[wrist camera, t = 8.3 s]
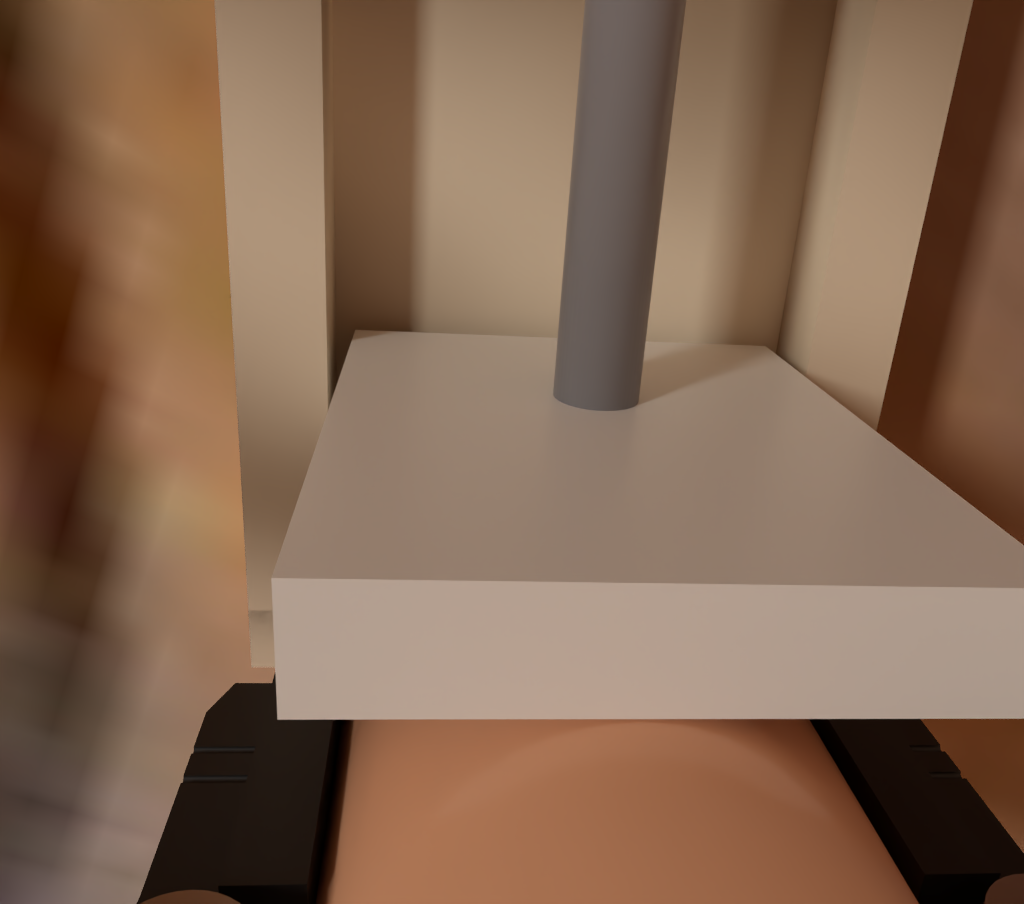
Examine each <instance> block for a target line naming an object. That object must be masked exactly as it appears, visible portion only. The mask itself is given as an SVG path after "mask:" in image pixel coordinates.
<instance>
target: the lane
mask: <svg viewBox="0 0 1024 904" xmlns="http://www.w3.org/2000/svg"><path fill="white" fill-rule="evenodd" d="M972 4H973V0H686V7H685V15H684V23H683V32H682V40H681V49H680V57H679V66H678V74H677V82H676V91H675V99H674V108H673V116H672V125H671V133H670V141H669V150H668V158H667V167H666V175H665V183H664V192H663V200H662V209H661V217H660V226H659V234H658V242H657V251H656V259H655V268H654V276H653V285H652V293H651V301H650V310H649V318H648V327H647V335H646V341H651V342H676V343H701V344H726V345H752V346H766V347H767V348H769V349H770V350H771V351H773V352H774V353H775V354H776V355H778V356H779V357H780V358H782V359H783V360H784V361H786V362H787V363H788V364H789V365H791V366H792V367H793V368H795V369H796V370H797V371H798V372H800V373H801V374H802V375H804V376H805V377H806V378H808V379H809V380H810V381H811V382H813V383H814V384H815V385H817V386H818V387H819V388H820V389H822V390H823V391H824V392H826V393H827V394H828V395H830V396H831V397H832V398H833V399H835V400H836V401H837V402H839V403H840V404H841V405H843V406H844V407H845V408H846V409H848V410H849V411H850V412H852V413H853V414H854V415H855V416H857V417H858V418H859V419H861V420H862V421H863V422H865V423H866V424H867V425H868V426H870V427H871V428H872V429H874V430H875V431H877V426H878V422H879V417H880V413H881V409H882V404H883V400H884V395H885V391H886V386H887V382H888V377H889V373H890V368H891V364H892V360H893V355H894V351H895V346H896V342H897V337H898V333H899V328H900V324H901V320H902V315H903V311H904V306H905V302H906V297H907V293H908V288H909V284H910V279H911V275H912V271H913V266H914V262H915V257H916V253H917V248H918V244H919V239H920V235H921V231H922V226H923V222H924V217H925V213H926V208H927V204H928V199H929V195H930V190H931V186H932V182H933V177H934V173H935V168H936V164H937V159H938V155H939V150H940V146H941V142H942V137H943V133H944V128H945V124H946V119H947V115H948V110H949V106H950V101H951V97H952V93H953V88H954V84H955V79H956V75H957V70H958V66H959V61H960V57H961V53H962V48H963V44H964V39H965V35H966V30H967V26H968V21H969V17H970V12H971V8H972ZM584 7H585V0H215V16H216V34H217V52H218V70H219V88H220V106H221V124H222V143H223V161H224V179H225V197H226V215H227V233H228V251H229V269H230V287H231V305H232V323H233V341H234V359H235V377H236V395H237V413H238V431H239V449H240V467H241V485H242V503H243V521H244V539H245V557H246V576H247V594H248V612H249V630H250V648H251V666H252V667H275V651H274V629H273V606H272V583H271V577H272V575H273V572H274V569H275V566H276V563H277V560H278V557H279V554H280V551H281V548H282V545H283V542H284V539H285V536H286V533H287V530H288V527H289V524H290V521H291V518H292V515H293V513H294V510H295V507H296V504H297V501H298V498H299V495H300V492H301V489H302V486H303V483H304V480H305V477H306V474H307V471H308V468H309V465H310V462H311V459H312V456H313V453H314V450H315V448H316V445H317V442H318V439H319V436H320V433H321V430H322V427H323V424H324V421H325V418H326V415H327V412H328V409H329V406H330V403H331V400H332V397H333V394H334V391H335V388H336V386H337V383H338V380H339V377H340V374H341V371H342V368H343V365H344V362H345V359H346V356H347V353H348V350H349V347H350V344H351V341H352V338H353V335H354V332H355V330H374V331H399V332H424V333H449V334H474V335H500V336H525V337H550V338H558V327H559V314H560V302H561V290H562V278H563V265H564V253H565V241H566V228H567V216H568V204H569V192H570V179H571V167H572V155H573V142H574V130H575V118H576V106H577V93H578V81H579V69H580V56H581V44H582V32H583V20H584Z"/></svg>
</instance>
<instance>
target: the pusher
mask: <svg viewBox="0 0 1024 904" xmlns="http://www.w3.org/2000/svg"><path fill="white" fill-rule="evenodd" d="M685 7H686V0H585V7H584V20H583V32H582V44H581V56H580V69H579V81H578V93H577V106H576V118H575V130H574V142H573V155H572V167H571V179H570V192H569V204H568V216H567V228H566V241H565V253H564V265H563V278H562V290H561V302H560V314H559V327H558V338H550V337H525V336H500V335H474V334H449V333H424V332H399V331H374V330H355V332H354V335H353V338H352V341H351V344H350V347H349V350H348V353H347V356H346V359H345V362H344V365H343V368H342V371H341V374H340V377H339V380H338V383H337V386H336V388H335V391H334V394H333V397H332V400H331V403H330V406H329V409H328V412H327V415H326V418H325V421H324V424H323V427H322V430H321V433H320V436H319V439H318V442H317V445H316V448H315V450H314V453H313V456H312V459H311V462H310V465H309V468H308V471H307V474H306V477H305V480H304V483H303V486H302V489H301V492H300V495H299V498H298V501H297V504H296V507H295V510H294V513H293V515H292V518H291V521H290V524H289V527H288V530H287V533H286V536H285V539H284V542H283V545H282V548H281V551H280V554H279V557H278V560H277V563H276V566H275V569H274V572H273V575H272V577H271V583H272V606H273V629H274V651H275V674H276V697H277V720H388V719H1024V545H1023V544H1021V543H1020V542H1019V541H1017V540H1016V539H1015V538H1013V537H1012V536H1011V535H1010V534H1008V533H1007V532H1006V531H1004V530H1003V529H1002V528H1001V527H999V526H998V525H997V524H995V523H994V522H993V521H991V520H990V519H989V518H988V517H986V516H985V515H984V514H982V513H981V512H980V511H979V510H977V509H976V508H975V507H973V506H972V505H971V504H969V503H968V502H967V501H966V500H964V499H963V498H962V497H960V496H959V495H958V494H956V493H955V492H954V491H953V490H951V489H950V488H949V487H947V486H946V485H945V484H944V483H942V482H941V481H940V480H938V479H937V478H936V477H934V476H933V475H932V474H931V473H929V472H928V471H927V470H925V469H924V468H923V467H922V466H920V465H919V464H918V463H916V462H915V461H914V460H912V459H911V458H910V457H909V456H907V455H906V454H905V453H903V452H902V451H901V450H900V449H898V448H897V447H896V446H894V445H893V444H892V443H890V442H889V441H888V440H887V439H885V438H884V437H883V436H881V435H880V434H879V433H877V432H876V431H875V430H874V429H872V428H871V427H870V426H868V425H867V424H866V423H865V422H863V421H862V420H861V419H859V418H858V417H857V416H855V415H854V414H853V413H852V412H850V411H849V410H848V409H846V408H845V407H844V406H843V405H841V404H840V403H839V402H837V401H836V400H835V399H833V398H832V397H831V396H830V395H828V394H827V393H826V392H824V391H823V390H822V389H820V388H819V387H818V386H817V385H815V384H814V383H813V382H811V381H810V380H809V379H808V378H806V377H805V376H804V375H802V374H801V373H800V372H798V371H797V370H796V369H795V368H793V367H792V366H791V365H789V364H788V363H787V362H786V361H784V360H783V359H782V358H780V357H779V356H778V355H776V354H775V353H774V352H773V351H771V350H770V349H769V348H767V347H766V346H752V345H726V344H701V343H676V342H651V341H646V335H647V327H648V318H649V310H650V301H651V293H652V285H653V276H654V268H655V259H656V251H657V242H658V234H659V226H660V217H661V209H662V200H663V192H664V183H665V175H666V167H667V158H668V150H669V141H670V133H671V125H672V116H673V108H674V99H675V91H676V82H677V74H678V66H679V57H680V49H681V40H682V32H683V23H684V15H685Z"/></svg>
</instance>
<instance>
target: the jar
mask: <svg viewBox="0 0 1024 904" xmlns="http://www.w3.org/2000/svg"><path fill="white" fill-rule="evenodd" d="M315 904H919V903H918V901H917V900H916V898H915V896H914V895H913V893H912V891H911V890H910V888H909V886H908V885H907V883H906V881H905V879H904V878H903V876H902V874H901V873H900V871H899V869H898V868H897V866H896V864H895V863H894V861H893V859H892V858H891V856H890V854H889V853H888V851H887V849H886V848H885V846H884V844H883V843H882V841H881V839H880V838H879V836H878V834H877V832H876V831H875V829H874V827H873V826H872V824H871V822H870V821H869V819H868V817H867V816H866V814H865V812H864V811H863V809H862V807H861V806H860V804H859V802H858V801H857V799H856V797H855V796H854V794H853V792H852V790H851V789H850V787H849V785H848V784H847V782H846V780H845V779H844V777H843V775H842V774H841V772H840V770H839V769H838V767H837V765H836V764H835V762H834V760H833V759H832V757H831V755H830V754H829V752H828V750H827V749H826V747H825V745H824V743H823V742H822V740H821V738H820V737H819V735H818V733H817V732H816V730H815V728H814V727H813V725H812V723H811V722H810V720H809V719H388V720H342V722H341V729H340V735H339V742H338V749H337V756H336V763H335V770H334V777H333V784H332V791H331V798H330V805H329V812H328V819H327V826H326V833H325V840H324V847H323V854H322V861H321V868H320V875H319V882H318V889H317V896H316V903H315Z"/></svg>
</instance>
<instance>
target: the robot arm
mask: <svg viewBox="0 0 1024 904" xmlns="http://www.w3.org/2000/svg"><path fill="white" fill-rule="evenodd" d="M809 720H810V722H811V723H812V725H813V727H814V728H815V730H816V732H817V733H818V735H819V737H820V738H821V740H822V742H823V743H824V745H825V747H826V749H827V750H828V752H829V754H830V755H831V757H832V759H833V760H834V762H835V764H836V765H837V767H838V769H839V770H840V772H841V774H842V775H843V777H844V779H845V780H846V782H847V784H848V785H849V787H850V789H851V790H852V792H853V794H854V796H855V797H856V799H857V801H858V802H859V804H860V806H861V807H862V809H863V811H864V812H865V814H866V816H867V817H868V819H869V821H870V822H871V824H872V826H873V827H874V829H875V831H876V832H877V834H878V836H879V838H880V839H881V841H882V843H883V844H884V846H885V848H886V849H887V851H888V853H889V854H890V856H891V858H892V859H893V861H894V863H895V864H896V866H897V868H898V869H899V871H900V873H901V874H902V876H903V878H904V879H905V881H906V883H907V885H908V886H909V888H910V890H911V891H912V893H913V895H914V896H915V898H916V900H917V901H918V903H919V904H1024V853H1023V852H1022V851H1021V849H1020V848H1019V847H1018V845H1017V844H1016V843H1015V842H1014V840H1013V839H1012V838H1011V836H1010V835H1009V834H1008V832H1007V831H1006V830H1005V829H1004V827H1003V826H1002V825H1001V823H1000V822H999V821H998V820H997V818H996V817H995V816H994V814H993V813H992V812H991V810H990V809H989V808H988V807H987V805H986V804H985V803H984V801H983V800H982V799H981V797H980V796H979V795H978V794H977V792H976V791H975V790H974V788H973V787H972V786H971V784H970V783H969V782H968V781H967V779H962V778H961V775H960V770H959V769H958V768H957V766H956V765H955V764H954V762H953V761H952V760H951V759H950V757H949V756H948V755H947V753H946V752H941V750H940V744H939V743H938V742H937V740H936V739H935V738H934V736H933V735H932V734H931V733H930V731H929V730H928V729H927V727H926V726H925V725H924V724H923V722H922V721H921V720H920V719H809ZM341 722H342V720H277V697H276V674H275V675H274V679H273V683H235V684H234V685H233V686H232V687H231V688H230V689H229V690H228V691H227V692H226V693H225V694H224V695H223V696H222V697H221V698H220V699H219V700H218V701H217V702H216V703H215V704H214V705H213V706H212V707H211V708H210V709H209V710H208V711H207V712H206V715H205V718H204V720H203V723H202V726H201V729H200V731H199V734H198V737H197V740H196V743H195V745H194V753H193V754H191V756H190V759H189V762H188V765H187V768H186V770H185V773H184V779H183V783H181V784H180V787H179V790H178V792H177V795H176V798H175V801H174V804H173V806H172V809H171V812H170V815H169V817H168V820H167V823H166V826H165V829H164V831H163V834H162V837H161V840H160V842H159V845H158V848H157V851H156V854H155V856H154V859H153V862H152V865H151V867H150V870H149V873H148V876H147V879H146V881H145V884H144V887H143V890H142V892H141V895H140V898H139V900H138V902H137V904H315V903H316V896H317V889H318V882H319V875H320V868H321V861H322V854H323V847H324V840H325V833H326V826H327V819H328V812H329V805H330V798H331V791H332V784H333V777H334V770H335V763H336V756H337V749H338V742H339V735H340V729H341Z"/></svg>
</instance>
